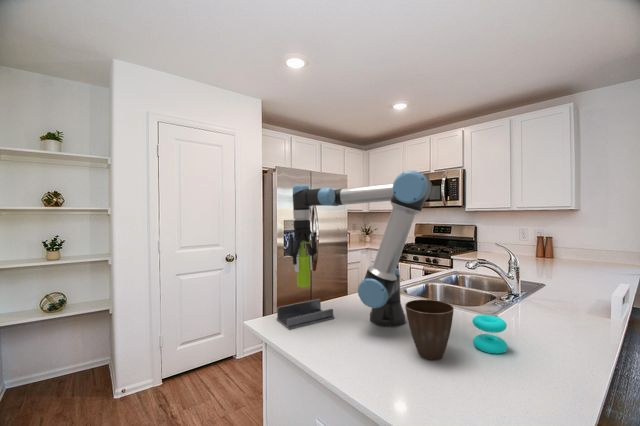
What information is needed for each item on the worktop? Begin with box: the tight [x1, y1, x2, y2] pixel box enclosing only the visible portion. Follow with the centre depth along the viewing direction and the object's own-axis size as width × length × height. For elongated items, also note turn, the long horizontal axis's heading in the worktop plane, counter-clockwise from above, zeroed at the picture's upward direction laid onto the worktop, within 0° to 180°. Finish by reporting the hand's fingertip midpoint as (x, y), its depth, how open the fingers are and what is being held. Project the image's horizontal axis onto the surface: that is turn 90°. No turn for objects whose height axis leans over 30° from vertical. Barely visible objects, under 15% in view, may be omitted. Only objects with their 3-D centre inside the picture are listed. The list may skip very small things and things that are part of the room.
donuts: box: [472, 314, 508, 355], centre depth 100 cm, size 10×10×10 cm
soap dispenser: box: [296, 240, 311, 288], centre depth 133 cm, size 6×7×20 cm
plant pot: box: [404, 299, 455, 361], centre depth 97 cm, size 15×15×16 cm
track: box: [276, 298, 335, 331], centre depth 133 cm, size 14×22×6 cm, turn 120°
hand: (303, 270), depth 133 cm, fingers closed on soap dispenser, 6 cm apart
